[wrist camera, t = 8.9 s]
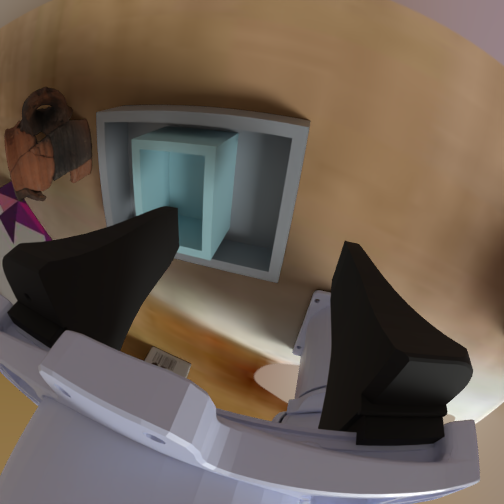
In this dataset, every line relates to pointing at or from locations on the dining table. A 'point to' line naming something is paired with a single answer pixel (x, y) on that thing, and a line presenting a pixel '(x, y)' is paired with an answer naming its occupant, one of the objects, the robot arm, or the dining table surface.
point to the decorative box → (15, 230)
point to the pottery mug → (46, 145)
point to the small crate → (188, 182)
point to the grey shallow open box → (245, 179)
